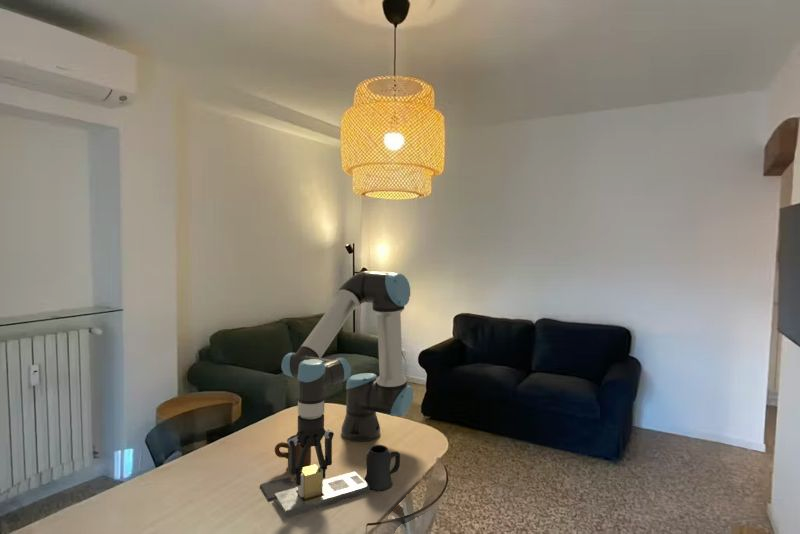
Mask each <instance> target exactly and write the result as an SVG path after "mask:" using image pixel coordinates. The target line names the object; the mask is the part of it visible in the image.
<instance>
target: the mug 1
mask: <svg viewBox="0 0 800 534" xmlns="http://www.w3.org/2000/svg"><path fill="white" fill-rule="evenodd" d="M295 436H296V434H294V435H291V436H290V437H289V438H291V439H292V438H294V437H295ZM295 447H296V462H297V458H298V454H299V450H300V442H299V440H298V441H297V445H296V446H295ZM281 448H284V449H285V448H286V449H287V452H286V451H281V450H280V449H281ZM274 454H275V455H276V457H278V458H281V459H282V458H285V459H286V460H287V467H288V468H289V445H288V442H284V441H280V442H277V444H275V447H274ZM311 463H312V446H311V447H310V448H308V451H307V453H306V457H305V461H304V465H303V467H307V466H311V465H312V464H311Z"/></svg>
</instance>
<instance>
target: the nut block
mask: <svg viewBox="0 0 800 534" xmlns="http://www.w3.org/2000/svg"><path fill="white" fill-rule="evenodd" d="M317 466H318V465H317V464H315V463H314V464H311V465H310V466H307V467H303V469H302V473H303V474H304V497H302V498H301V499H302V500H303V501H307V500H311V499H314V498H318V497H321V496H322V471H321V470H320V469H319V468H318V467H317ZM299 496H300V495H299Z"/></svg>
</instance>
